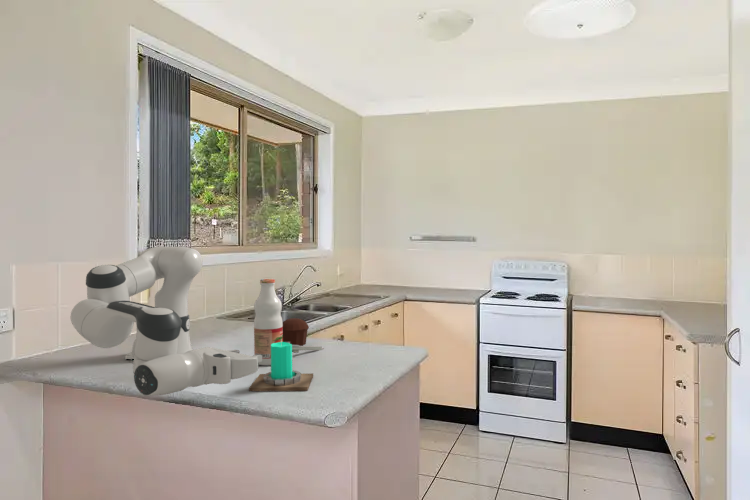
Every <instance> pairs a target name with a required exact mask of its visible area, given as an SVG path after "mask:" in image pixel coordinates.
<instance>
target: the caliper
mask: <svg viewBox="0 0 750 500" xmlns="http://www.w3.org/2000/svg"><path fill="white" fill-rule="evenodd" d="M286 343H290V342H286ZM324 349H325V348H324V347H322V346H318V345H317V346H316V345H315V346H314V345H313V346H312V345H311V346H310V345H309V346H308V345H307V346H306V345H305V346H304V345H303V346H299V345H292V353H295V354H298V353H300V352H299V351H322V350H324Z"/></svg>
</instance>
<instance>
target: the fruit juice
mask: <svg viewBox="0 0 750 500" xmlns="http://www.w3.org/2000/svg"><path fill="white" fill-rule="evenodd" d="M259 281H260V282H259V283H260V287H261V288H260V292H259V295H258V297H257V299H256V300H255V301H254V304H253V310H254V314H255V317H254V319H253V320H254V321H253V336H254V337H253V338H254V339H253V341H254V344H253V345H254V346H253V348H254V350H253V351H254V352H253V353H254V354H253V355H257V354H259V355H262V361H261V362H258V366H266V367H267V366H269V367H270V366H271V344H272V343H277V342H281V339H282V342H283V323H282V322H283V317H282V314H281V313H282V308H283V307H282V306H283V303H282V301H281V299H280V298H279V296H277V293H276V290H275V289H276V288H275V285H276V279H275V278H262V279H260V280H259Z"/></svg>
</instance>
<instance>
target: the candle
mask: <svg viewBox="0 0 750 500" xmlns="http://www.w3.org/2000/svg"><path fill="white" fill-rule="evenodd" d="M292 370H293V352H292V344H290V343H286V342H282V339H281V342H277V343H272V344H271V365H270V372H271V378H276V379H284V378H291V377H292Z"/></svg>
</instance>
